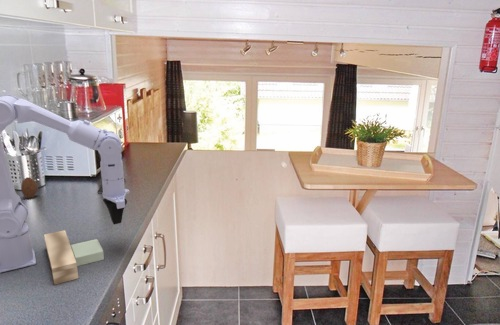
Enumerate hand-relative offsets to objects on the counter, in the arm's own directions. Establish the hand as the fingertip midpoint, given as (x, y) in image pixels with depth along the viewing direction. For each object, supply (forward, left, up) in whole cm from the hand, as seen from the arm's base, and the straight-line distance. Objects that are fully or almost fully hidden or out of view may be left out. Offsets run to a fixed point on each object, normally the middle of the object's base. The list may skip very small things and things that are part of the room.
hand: (116, 222), depth 112 cm
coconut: (-19, +54, -8) cm, 58 cm away
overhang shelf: (-15, 0, -8) cm, 17 cm away
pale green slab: (-9, 0, -8) cm, 12 cm away
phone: (+10, +51, -9) cm, 53 cm away
